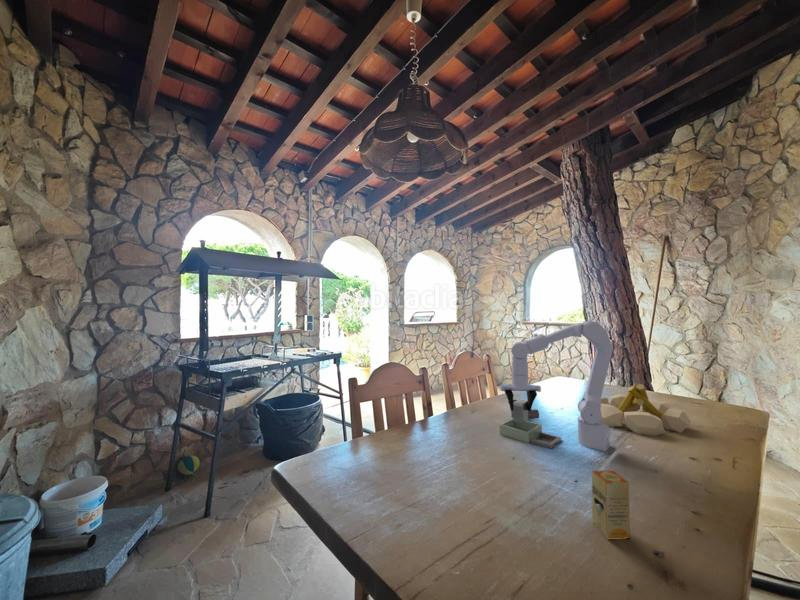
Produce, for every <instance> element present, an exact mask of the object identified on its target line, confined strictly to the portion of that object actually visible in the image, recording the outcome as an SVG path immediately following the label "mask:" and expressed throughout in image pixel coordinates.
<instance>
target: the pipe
mask: <svg viewBox="0 0 800 600" xmlns="http://www.w3.org/2000/svg"><path fill="white" fill-rule="evenodd" d="M517 400H518V399H513V402H515V401H517ZM507 402H508V404H509V401H508V400H507ZM510 413H511V414H510V415H511V418H513V411H511V410H510ZM539 418H540V412H539V410H538V409H531V411H529V410H528V419H533V420H534V419H539Z"/></svg>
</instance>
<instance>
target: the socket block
mask: <svg viewBox="0 0 800 600" xmlns="http://www.w3.org/2000/svg"><path fill="white" fill-rule="evenodd" d="M529 443H530V444H534V445H536V446H539V447H541V448H546V449H550V450H554V449H555V448H556V447H558V446H559V445H560V444H561V443H563V440H562V437H561V436H557V435H553V434H550V433H547V432H543V431H542V432H540V433H539V436H538V437H537V438H535V439H533V438H530V442H529ZM529 443H528V444H529Z"/></svg>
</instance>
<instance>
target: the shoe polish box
mask: <svg viewBox="0 0 800 600" xmlns="http://www.w3.org/2000/svg"><path fill="white" fill-rule="evenodd" d="M591 499H592V500H591V501H592V506H591V507H592V508H591V511H592V524H593V523H594V525H595V526H596V527H597V528H598V529H599V530H600V531H601V533H602V534H603V535H604V536H605V537H606V538H625V537H630V538H631V535H630V534H631V529H630V527H631V526H630V524H631V523H630V521H631V520H630V482H629V481H628V480H626V479H625V478H624V477H623V476H621V475H620V474H618V473H617V472H616V471H615V470H591ZM594 525H593V526H594ZM595 526H594V527H595ZM601 533H600V534H601ZM602 534H601V535H602ZM603 535H602V536H603ZM604 536H603V537H604ZM605 537H604V538H605ZM606 538H605V539H606Z"/></svg>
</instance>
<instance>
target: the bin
mask: <svg viewBox="0 0 800 600" xmlns="http://www.w3.org/2000/svg"><path fill="white" fill-rule="evenodd" d="M542 427H543V425H542V423H541V424H540V423H537V422H536V423H535V422H532V421H529V420H527V421H526V422H524V423H520V422H516V421H514V419H513V417H511V419H508V420H506V421H504V422H503V423H500V424H499V435H501V436H503V437H507V438H511V439H514V440H517V441H521V442H524V443H527V444H529V442H530V438H533V439H535V438H537V437H538V436H539V433H540V432H543V428H542Z"/></svg>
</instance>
